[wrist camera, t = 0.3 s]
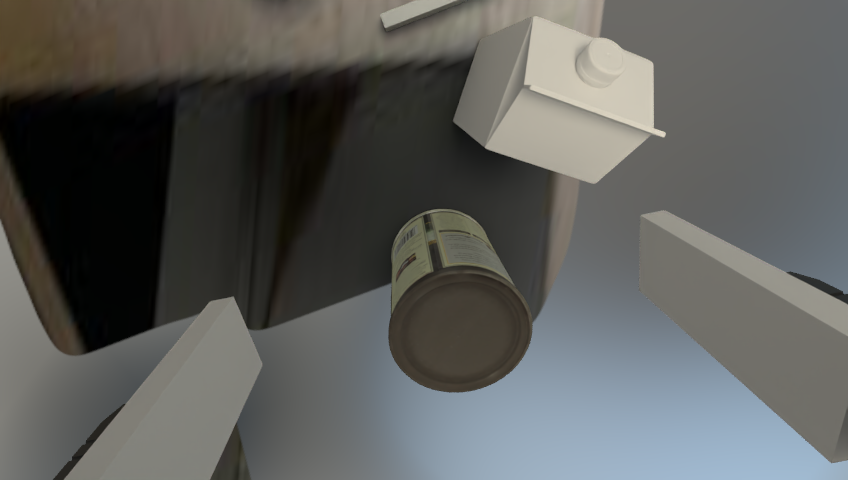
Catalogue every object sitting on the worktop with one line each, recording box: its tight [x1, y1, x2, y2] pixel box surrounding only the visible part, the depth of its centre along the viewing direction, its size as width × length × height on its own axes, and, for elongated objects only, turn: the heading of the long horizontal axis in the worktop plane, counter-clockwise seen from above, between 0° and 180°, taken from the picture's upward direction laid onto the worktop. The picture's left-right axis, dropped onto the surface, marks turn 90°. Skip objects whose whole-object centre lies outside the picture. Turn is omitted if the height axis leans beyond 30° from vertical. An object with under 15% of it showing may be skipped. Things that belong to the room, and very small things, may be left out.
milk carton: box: [453, 16, 666, 184], centre depth 28 cm, size 7×7×19 cm
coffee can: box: [389, 209, 532, 392], centre depth 35 cm, size 10×10×14 cm
